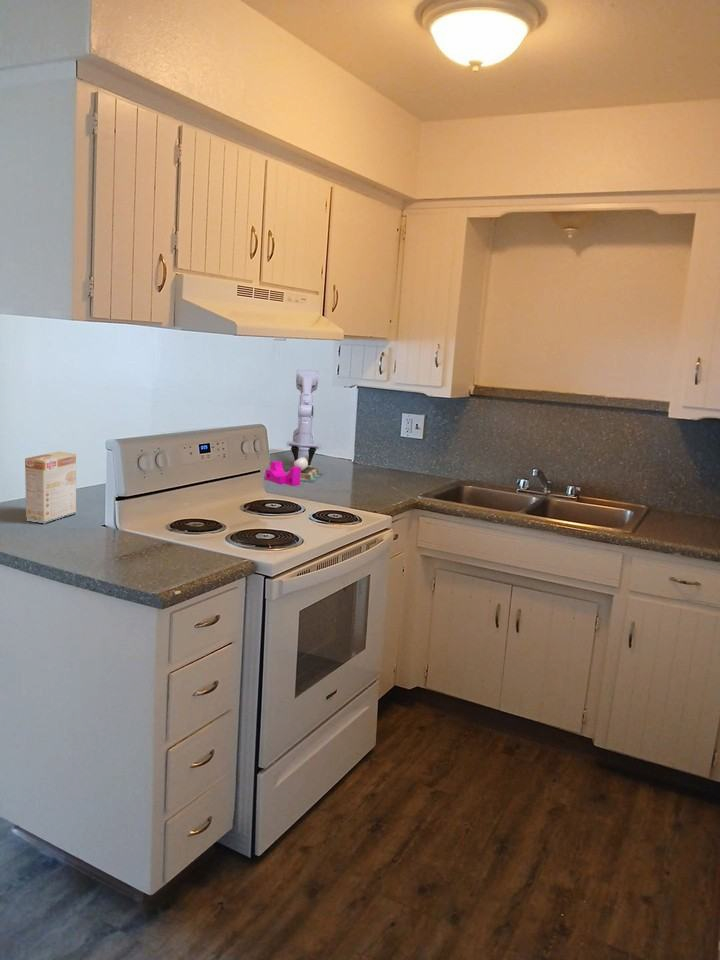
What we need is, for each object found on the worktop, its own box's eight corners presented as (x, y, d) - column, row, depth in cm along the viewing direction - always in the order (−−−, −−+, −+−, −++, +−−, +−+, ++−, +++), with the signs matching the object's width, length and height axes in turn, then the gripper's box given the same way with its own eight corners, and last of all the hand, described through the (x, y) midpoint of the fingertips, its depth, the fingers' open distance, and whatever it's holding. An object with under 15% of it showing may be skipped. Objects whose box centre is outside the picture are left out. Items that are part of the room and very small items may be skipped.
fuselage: (300, 466, 334) (300, 454, 333) (311, 466, 333) (311, 455, 332) (293, 470, 322) (293, 459, 321) (305, 471, 321) (305, 459, 320)
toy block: (264, 480, 317) (265, 462, 316) (277, 478, 321) (277, 461, 320) (287, 487, 307) (288, 468, 305) (299, 485, 311) (300, 467, 310)
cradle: (291, 471, 339) (292, 464, 338) (322, 474, 337) (323, 467, 336) (280, 479, 320) (280, 472, 319) (313, 482, 318) (313, 475, 317)
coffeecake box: (58, 511, 245) (58, 451, 241) (77, 514, 243) (77, 453, 239) (24, 521, 231) (23, 457, 227) (44, 524, 229) (43, 460, 225)
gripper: (285, 432, 322) (283, 464, 324) (319, 435, 320) (317, 467, 322) (289, 430, 329) (287, 461, 331) (322, 433, 327) (320, 465, 329)
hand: (302, 464), depth 327 cm, fingers closed on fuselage, 5 cm apart
